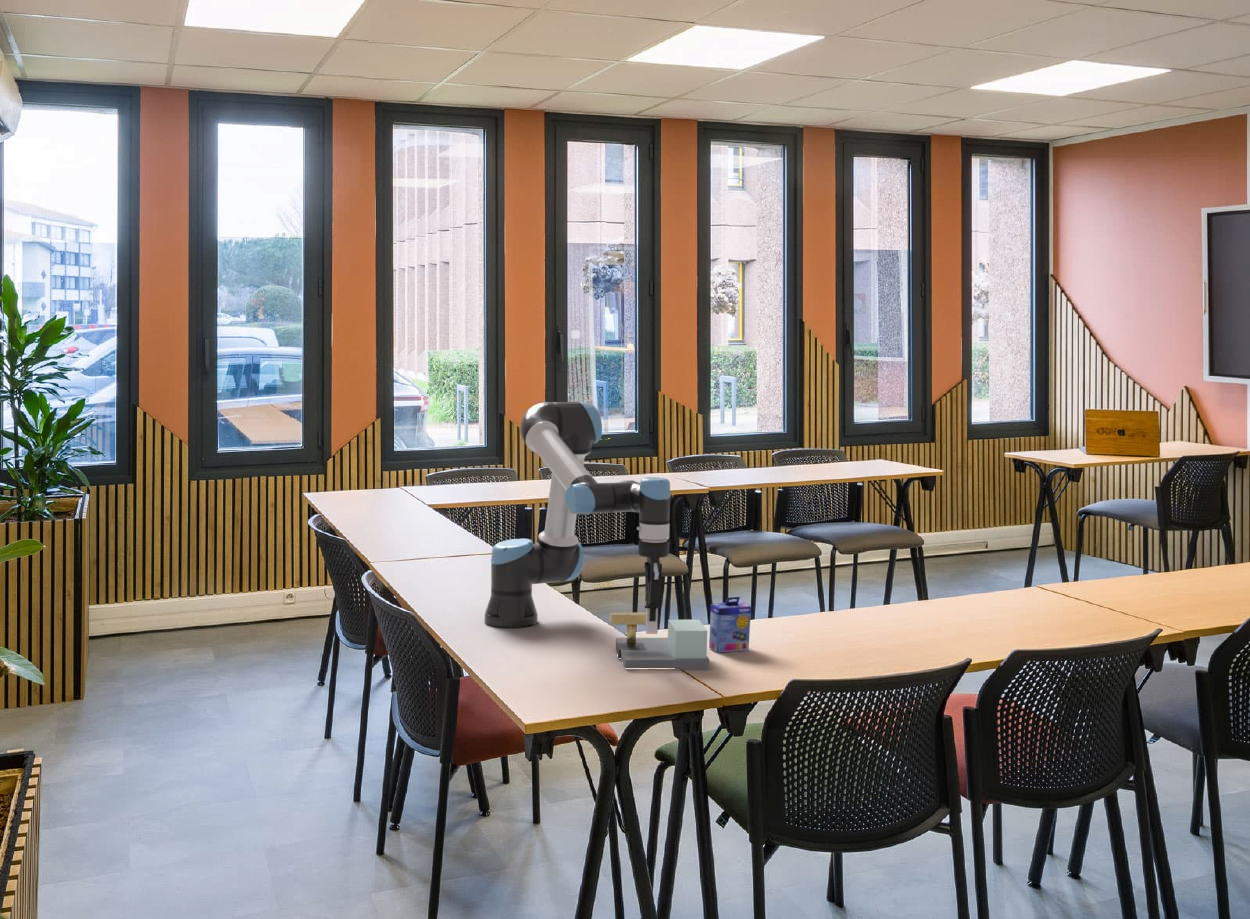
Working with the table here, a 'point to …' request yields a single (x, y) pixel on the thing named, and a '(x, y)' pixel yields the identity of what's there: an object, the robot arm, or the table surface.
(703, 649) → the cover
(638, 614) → the wooden t-shaped block
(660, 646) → the panel
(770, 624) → the table surface
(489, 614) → the robot arm
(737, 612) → the ink cartridge box
